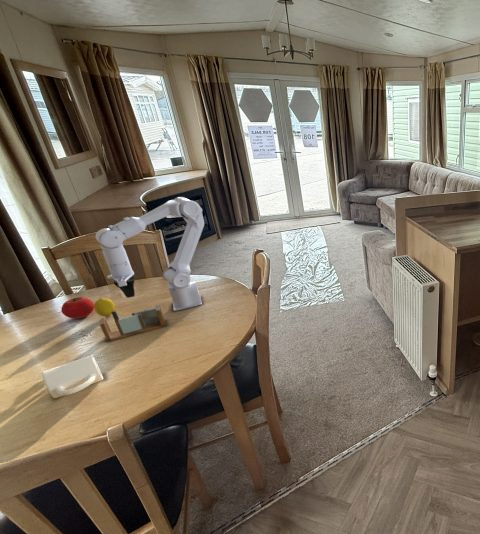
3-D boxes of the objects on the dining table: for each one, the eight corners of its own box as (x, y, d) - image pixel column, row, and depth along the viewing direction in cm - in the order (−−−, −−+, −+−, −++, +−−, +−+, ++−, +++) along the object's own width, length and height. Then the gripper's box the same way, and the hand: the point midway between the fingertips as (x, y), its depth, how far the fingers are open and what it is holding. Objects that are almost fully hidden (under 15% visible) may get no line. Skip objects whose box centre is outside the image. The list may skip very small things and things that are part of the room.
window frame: (165, 320, 128) (159, 305, 125) (165, 326, 125) (159, 310, 122) (108, 335, 119) (101, 318, 116) (107, 341, 116) (99, 324, 113)
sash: (145, 327, 123) (137, 305, 119) (145, 328, 122) (137, 306, 118) (120, 333, 119) (111, 311, 115) (120, 334, 118) (110, 312, 114)
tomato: (97, 307, 135) (89, 289, 132) (98, 316, 130) (90, 298, 126) (66, 315, 130) (57, 297, 126) (65, 325, 124) (56, 306, 121)
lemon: (122, 313, 132) (114, 295, 129) (108, 320, 127) (100, 302, 124) (109, 312, 133) (101, 294, 129) (95, 319, 128) (86, 301, 124)
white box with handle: (53, 388, 96) (41, 366, 93) (101, 371, 103) (90, 350, 100) (57, 411, 89) (43, 389, 86) (107, 391, 96) (96, 369, 93)
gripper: (104, 258, 121) (117, 291, 127) (100, 272, 111) (114, 307, 116) (130, 254, 125) (142, 286, 131) (128, 267, 115) (141, 302, 120)
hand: (130, 296), depth 124 cm, fingers closed
